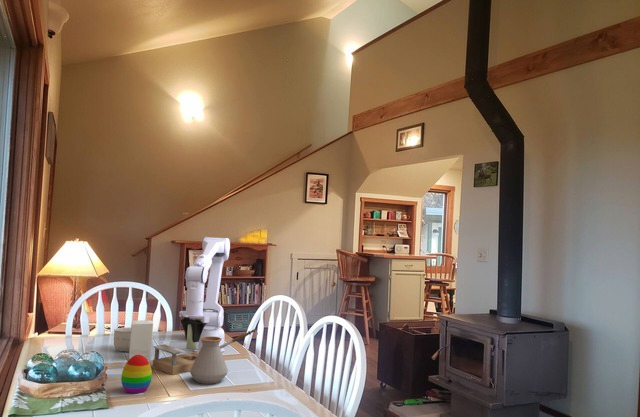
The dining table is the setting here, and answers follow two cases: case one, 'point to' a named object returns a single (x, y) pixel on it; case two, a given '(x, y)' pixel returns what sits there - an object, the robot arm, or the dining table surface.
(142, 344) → the supplement box
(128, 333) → the teacup
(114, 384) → the dining table surface
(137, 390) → the decorative egg
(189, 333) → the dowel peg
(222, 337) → the robot arm
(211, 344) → the coffee pot
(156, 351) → the socket board
